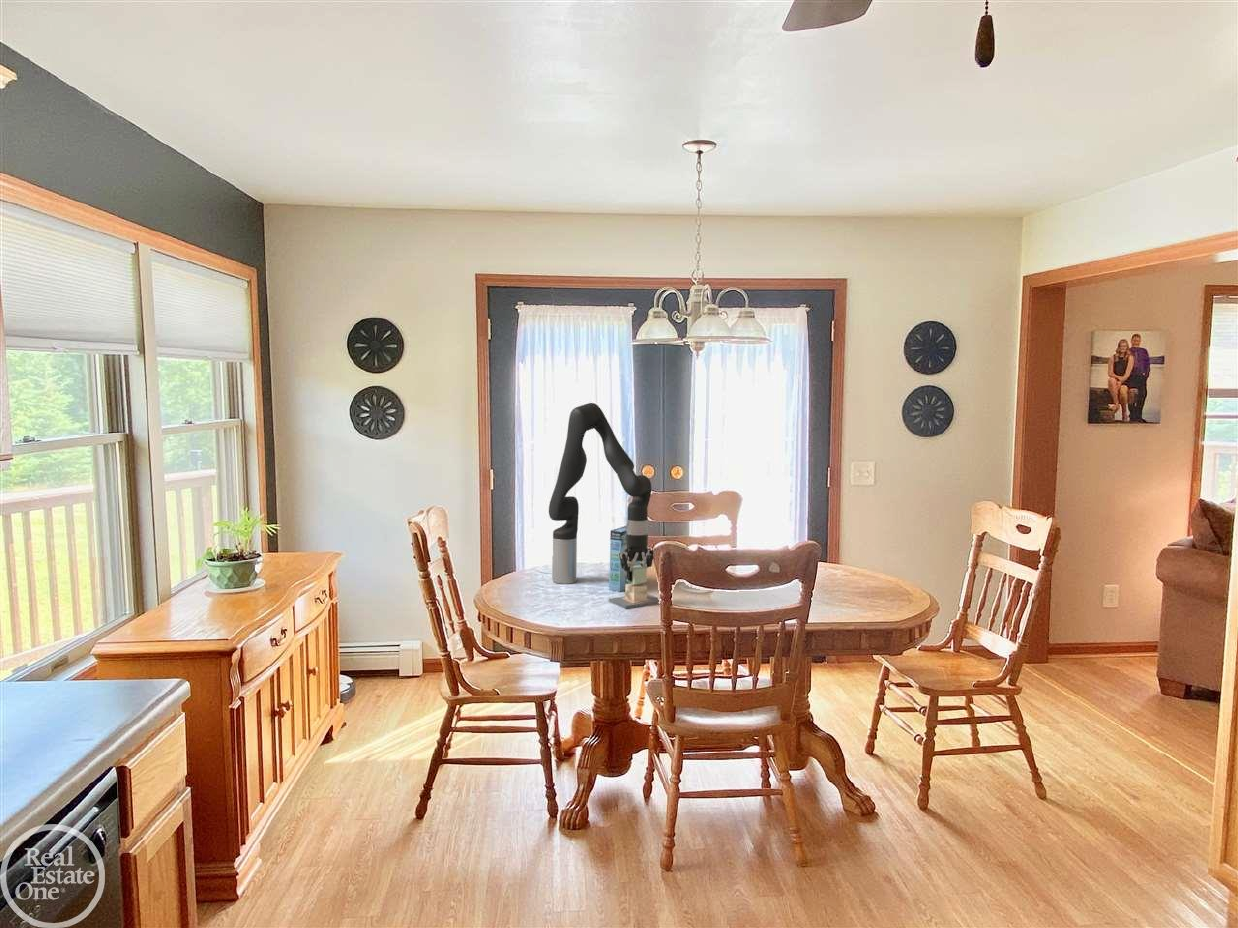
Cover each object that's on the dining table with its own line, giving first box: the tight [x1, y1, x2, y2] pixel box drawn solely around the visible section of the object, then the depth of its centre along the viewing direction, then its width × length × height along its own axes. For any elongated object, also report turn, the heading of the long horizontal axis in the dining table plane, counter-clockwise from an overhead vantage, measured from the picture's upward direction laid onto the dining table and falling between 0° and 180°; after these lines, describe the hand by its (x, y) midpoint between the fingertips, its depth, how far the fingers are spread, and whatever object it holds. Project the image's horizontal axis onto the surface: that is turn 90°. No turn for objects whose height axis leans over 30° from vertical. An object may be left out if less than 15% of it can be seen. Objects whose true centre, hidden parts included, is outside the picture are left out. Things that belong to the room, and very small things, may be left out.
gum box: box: [608, 524, 640, 593], centre depth 309 cm, size 20×5×23 cm, turn 153°
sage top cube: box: [627, 565, 648, 584], centre depth 285 cm, size 5×5×5 cm
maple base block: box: [624, 583, 648, 602], centre depth 286 cm, size 6×6×5 cm
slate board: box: [608, 593, 659, 610], centre depth 286 cm, size 11×16×1 cm
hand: (636, 579), depth 286 cm, fingers closed on sage top cube, 4 cm apart
